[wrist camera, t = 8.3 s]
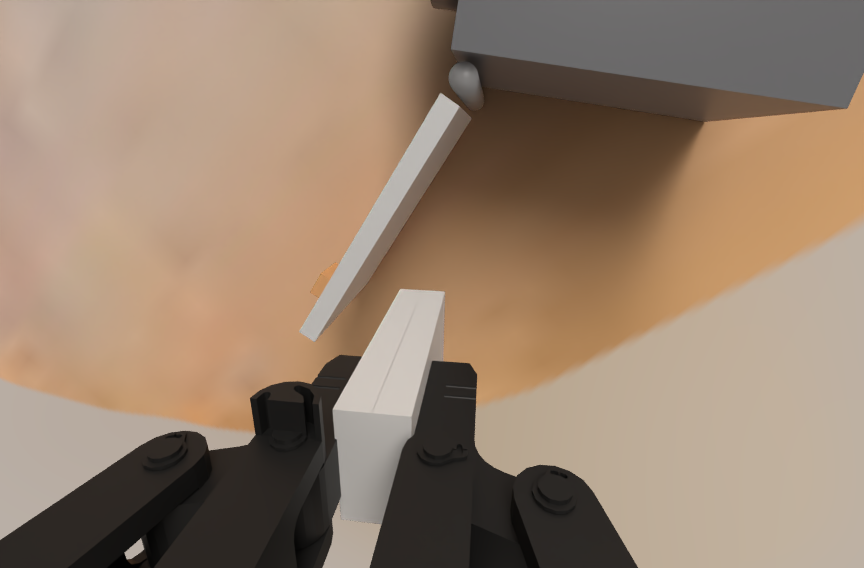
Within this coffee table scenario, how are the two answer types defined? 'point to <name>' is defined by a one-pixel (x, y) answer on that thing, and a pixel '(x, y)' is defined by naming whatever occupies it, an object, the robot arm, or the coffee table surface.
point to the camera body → (668, 53)
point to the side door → (396, 200)
